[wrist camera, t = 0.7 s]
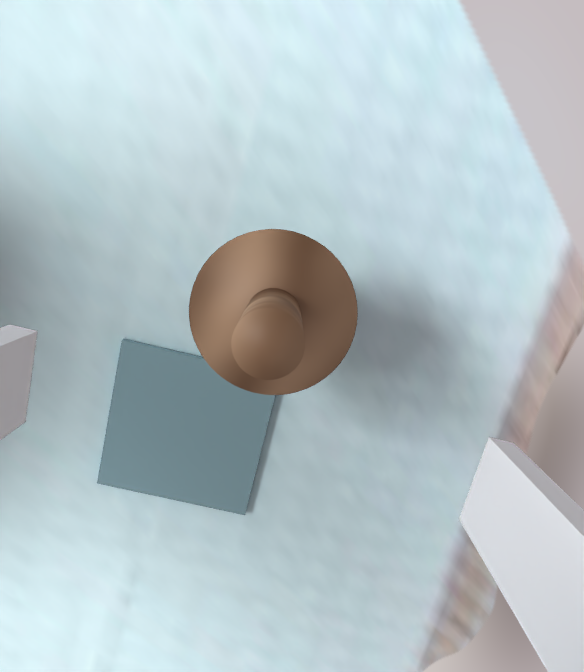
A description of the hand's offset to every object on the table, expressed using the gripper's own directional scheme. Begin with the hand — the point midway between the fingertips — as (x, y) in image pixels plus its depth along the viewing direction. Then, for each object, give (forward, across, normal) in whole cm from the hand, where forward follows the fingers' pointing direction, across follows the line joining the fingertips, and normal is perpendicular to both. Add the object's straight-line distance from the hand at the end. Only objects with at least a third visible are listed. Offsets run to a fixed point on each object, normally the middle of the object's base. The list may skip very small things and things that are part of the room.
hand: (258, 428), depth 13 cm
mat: (+28, -5, -14) cm, 31 cm away
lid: (+19, 0, 0) cm, 19 cm away
